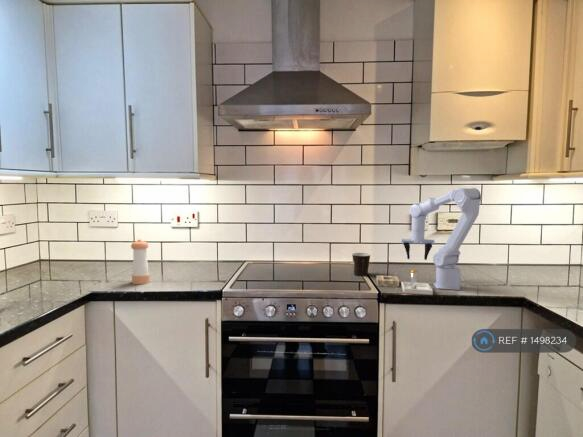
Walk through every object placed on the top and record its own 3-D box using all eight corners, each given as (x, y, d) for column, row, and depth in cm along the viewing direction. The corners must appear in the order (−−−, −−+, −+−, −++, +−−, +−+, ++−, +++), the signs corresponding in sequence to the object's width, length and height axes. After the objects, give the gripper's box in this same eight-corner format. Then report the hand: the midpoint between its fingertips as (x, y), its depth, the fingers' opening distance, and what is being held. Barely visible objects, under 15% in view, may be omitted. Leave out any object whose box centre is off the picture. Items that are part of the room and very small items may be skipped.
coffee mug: (355, 271, 187) (355, 252, 186) (371, 273, 183) (372, 253, 182) (347, 276, 177) (347, 256, 176) (365, 278, 173) (365, 257, 172)
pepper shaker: (130, 284, 160) (129, 241, 158) (133, 280, 167) (131, 238, 165) (148, 283, 162) (147, 240, 160) (150, 279, 169) (149, 238, 167)
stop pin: (415, 288, 156) (416, 269, 156) (417, 289, 154) (417, 271, 153) (409, 288, 157) (410, 269, 156) (411, 289, 154) (411, 271, 153)
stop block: (396, 281, 169) (396, 276, 168) (398, 287, 160) (399, 281, 160) (376, 280, 170) (376, 275, 170) (377, 285, 161) (377, 280, 161)
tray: (427, 287, 159) (427, 283, 159) (432, 295, 148) (432, 290, 148) (400, 286, 161) (401, 281, 161) (404, 293, 150) (404, 288, 150)
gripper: (432, 229, 174) (431, 258, 176) (400, 228, 177) (399, 256, 178) (435, 231, 167) (434, 261, 169) (402, 230, 170) (401, 259, 171)
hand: (416, 259), depth 173 cm, fingers open, 7 cm apart
